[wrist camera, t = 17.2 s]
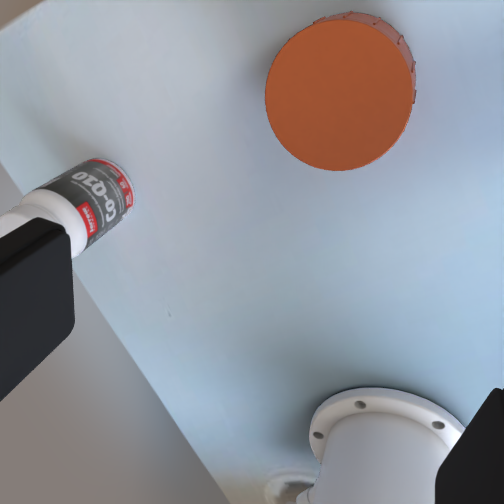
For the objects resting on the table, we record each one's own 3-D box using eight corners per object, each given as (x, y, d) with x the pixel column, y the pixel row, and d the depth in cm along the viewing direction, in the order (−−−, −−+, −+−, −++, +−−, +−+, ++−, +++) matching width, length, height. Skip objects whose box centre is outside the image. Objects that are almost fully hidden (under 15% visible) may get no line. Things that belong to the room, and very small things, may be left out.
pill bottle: (149, 199, 33) (75, 260, 26) (110, 227, 35) (33, 290, 28) (104, 143, 32) (13, 192, 25) (67, 177, 34) (-24, 230, 27)
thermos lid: (298, -3, 23) (280, 2, 21) (438, 30, 22) (439, 40, 19) (271, 130, 27) (253, 149, 25) (388, 164, 26) (383, 188, 23)
